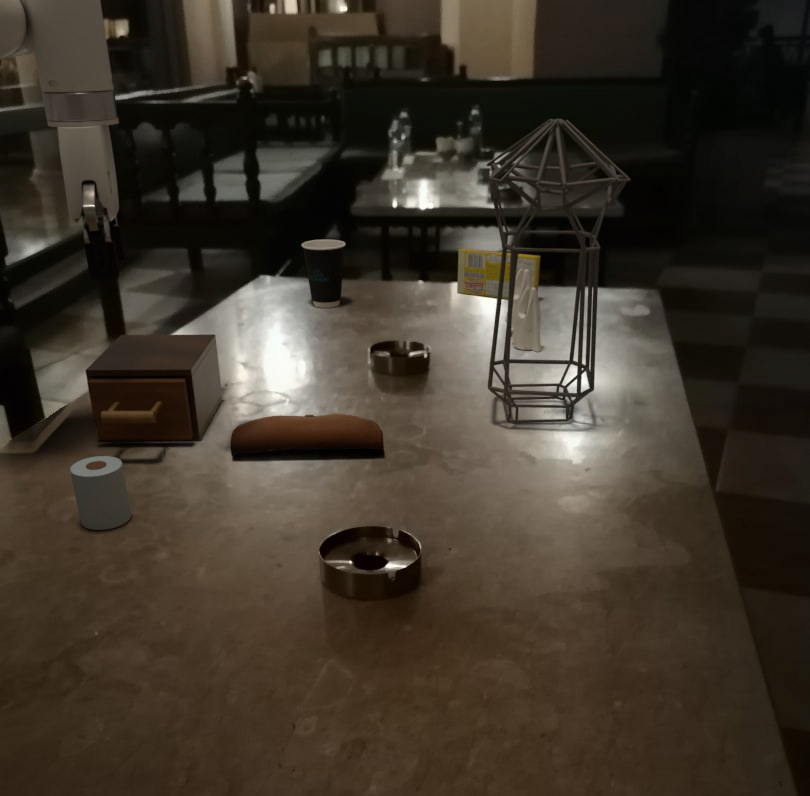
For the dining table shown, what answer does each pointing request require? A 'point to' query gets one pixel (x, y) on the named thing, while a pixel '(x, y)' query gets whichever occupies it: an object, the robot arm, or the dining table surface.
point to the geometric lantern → (612, 195)
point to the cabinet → (168, 369)
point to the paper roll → (101, 492)
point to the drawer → (140, 407)
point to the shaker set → (525, 314)
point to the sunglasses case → (306, 434)
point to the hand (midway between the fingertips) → (108, 269)
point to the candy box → (490, 272)
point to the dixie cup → (324, 271)
